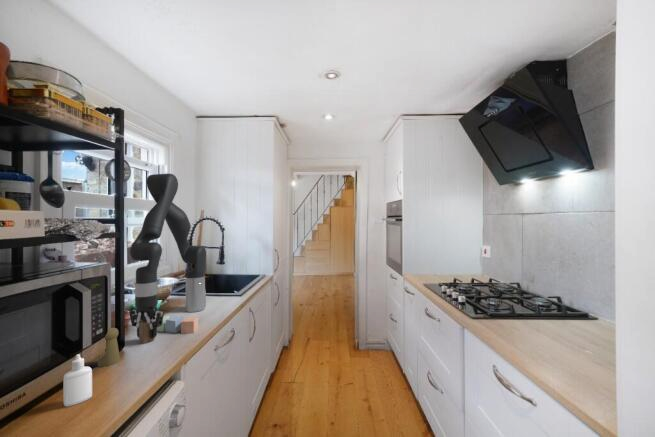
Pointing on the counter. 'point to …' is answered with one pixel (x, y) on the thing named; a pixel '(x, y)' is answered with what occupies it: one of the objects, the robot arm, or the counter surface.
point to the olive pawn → (110, 349)
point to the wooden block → (144, 332)
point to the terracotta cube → (189, 325)
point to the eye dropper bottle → (77, 383)
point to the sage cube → (163, 324)
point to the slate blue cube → (174, 324)
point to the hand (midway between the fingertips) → (146, 337)
